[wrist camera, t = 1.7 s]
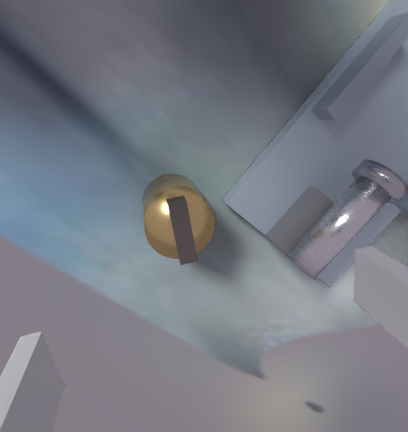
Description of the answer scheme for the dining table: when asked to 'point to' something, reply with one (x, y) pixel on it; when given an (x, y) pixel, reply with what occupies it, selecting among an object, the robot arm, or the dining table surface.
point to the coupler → (177, 218)
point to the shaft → (348, 216)
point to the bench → (335, 143)
